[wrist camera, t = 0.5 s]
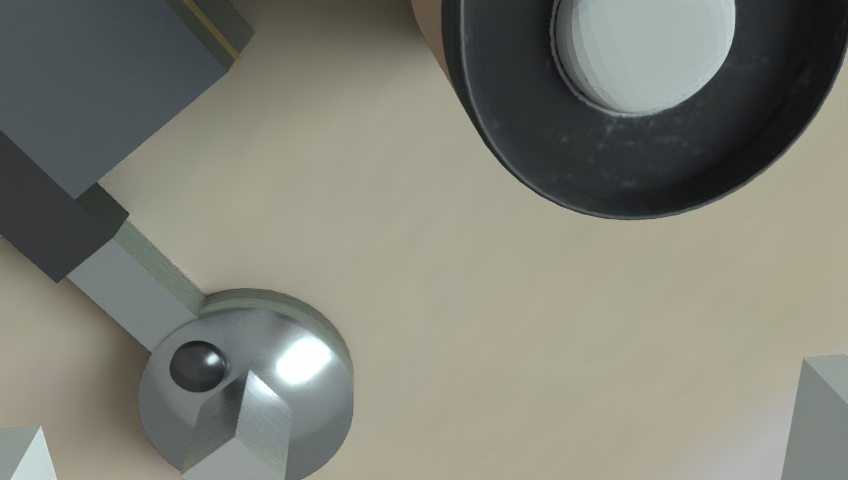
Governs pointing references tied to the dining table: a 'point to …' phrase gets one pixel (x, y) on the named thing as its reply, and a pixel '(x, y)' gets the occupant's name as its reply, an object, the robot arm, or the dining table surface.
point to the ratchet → (192, 338)
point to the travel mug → (637, 92)
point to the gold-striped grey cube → (106, 75)
